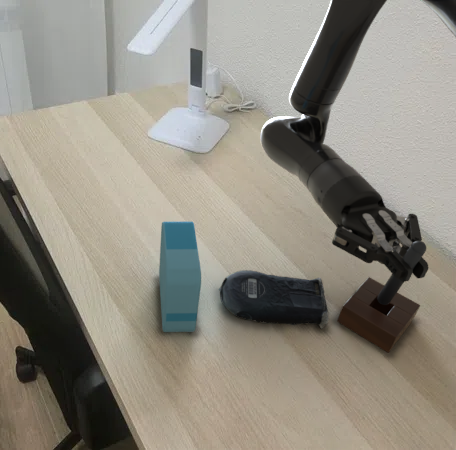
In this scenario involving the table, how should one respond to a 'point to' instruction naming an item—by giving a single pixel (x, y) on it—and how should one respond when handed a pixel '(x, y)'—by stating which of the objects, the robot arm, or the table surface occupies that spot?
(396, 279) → the dark grey peg
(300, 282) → the electronic device
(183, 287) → the data package
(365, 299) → the pen stand
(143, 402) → the table surface
